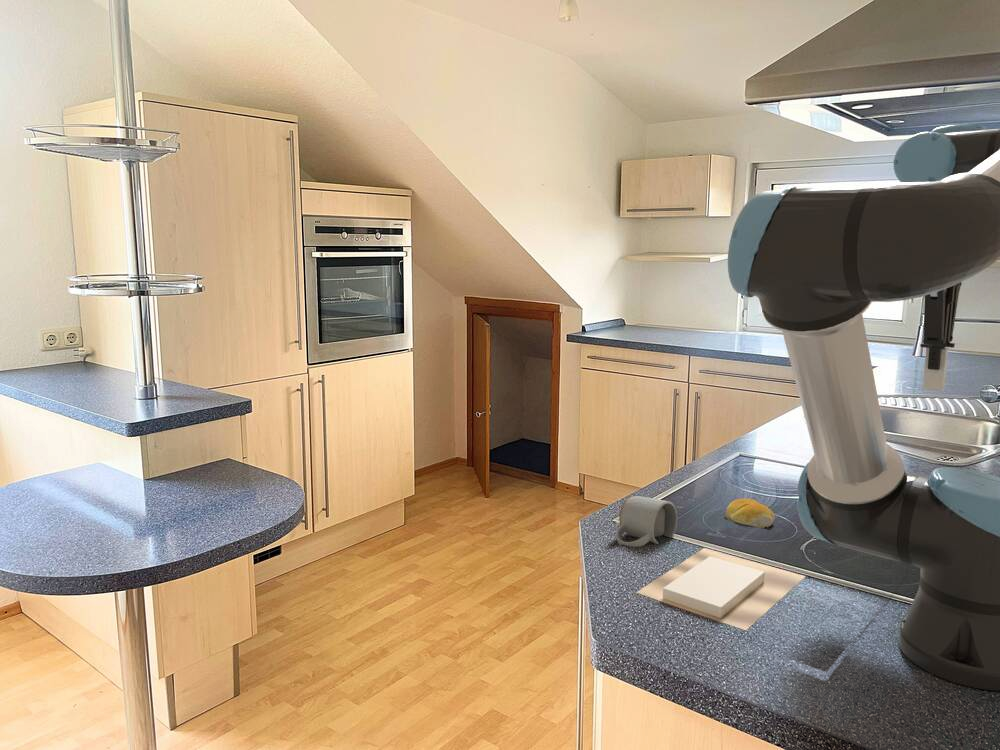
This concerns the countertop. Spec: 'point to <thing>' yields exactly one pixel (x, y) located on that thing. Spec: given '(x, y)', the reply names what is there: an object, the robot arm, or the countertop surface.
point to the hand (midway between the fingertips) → (933, 389)
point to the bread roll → (750, 513)
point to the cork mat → (745, 610)
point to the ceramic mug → (646, 520)
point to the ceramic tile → (714, 586)
